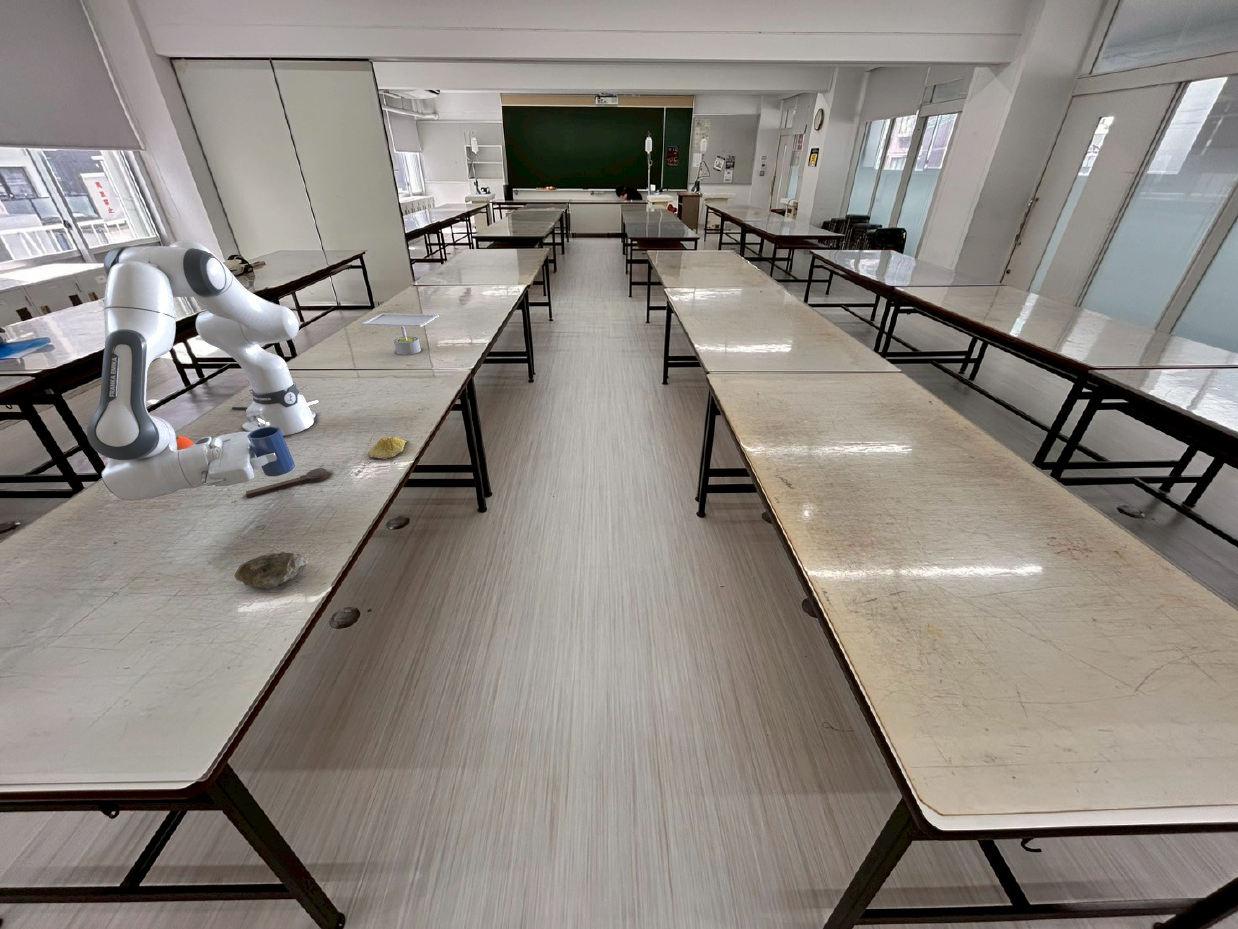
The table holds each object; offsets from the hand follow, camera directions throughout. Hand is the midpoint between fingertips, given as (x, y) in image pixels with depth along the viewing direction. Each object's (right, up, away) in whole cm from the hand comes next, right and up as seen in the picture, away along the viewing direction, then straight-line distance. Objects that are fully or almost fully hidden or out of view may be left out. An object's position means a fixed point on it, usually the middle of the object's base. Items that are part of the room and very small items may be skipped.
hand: (275, 448), depth 117 cm
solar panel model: (-16, +48, +111) cm, 122 cm away
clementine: (-48, -2, +31) cm, 57 cm away
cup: (-1, -5, +2) cm, 6 cm away
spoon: (-8, -9, +17) cm, 22 cm away
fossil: (+12, 0, +33) cm, 35 cm away
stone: (+10, -28, -13) cm, 32 cm away
